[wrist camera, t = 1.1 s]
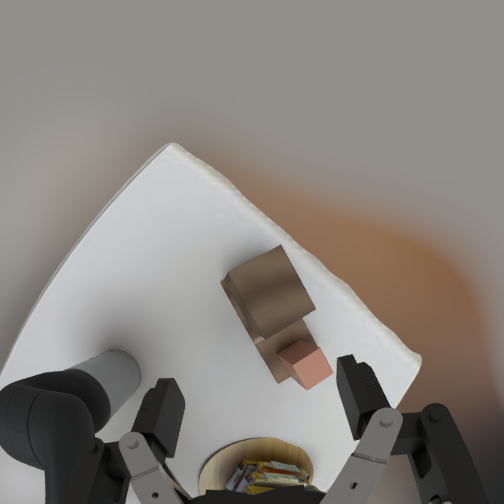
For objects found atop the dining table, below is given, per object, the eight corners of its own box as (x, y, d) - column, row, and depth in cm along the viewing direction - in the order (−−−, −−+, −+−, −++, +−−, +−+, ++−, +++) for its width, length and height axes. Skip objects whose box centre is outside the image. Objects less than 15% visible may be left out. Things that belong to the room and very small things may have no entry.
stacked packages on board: (242, 418, 46) (256, 461, 29) (332, 459, 46) (366, 496, 30) (178, 489, 40) (172, 536, 24) (268, 522, 40) (283, 564, 24)
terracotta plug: (311, 361, 48) (333, 372, 38) (289, 375, 47) (307, 390, 37) (299, 339, 48) (320, 347, 39) (276, 353, 47) (292, 365, 38)
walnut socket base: (320, 354, 50) (352, 368, 37) (276, 381, 48) (298, 405, 35) (266, 257, 52) (285, 242, 39) (220, 282, 50) (223, 275, 37)
